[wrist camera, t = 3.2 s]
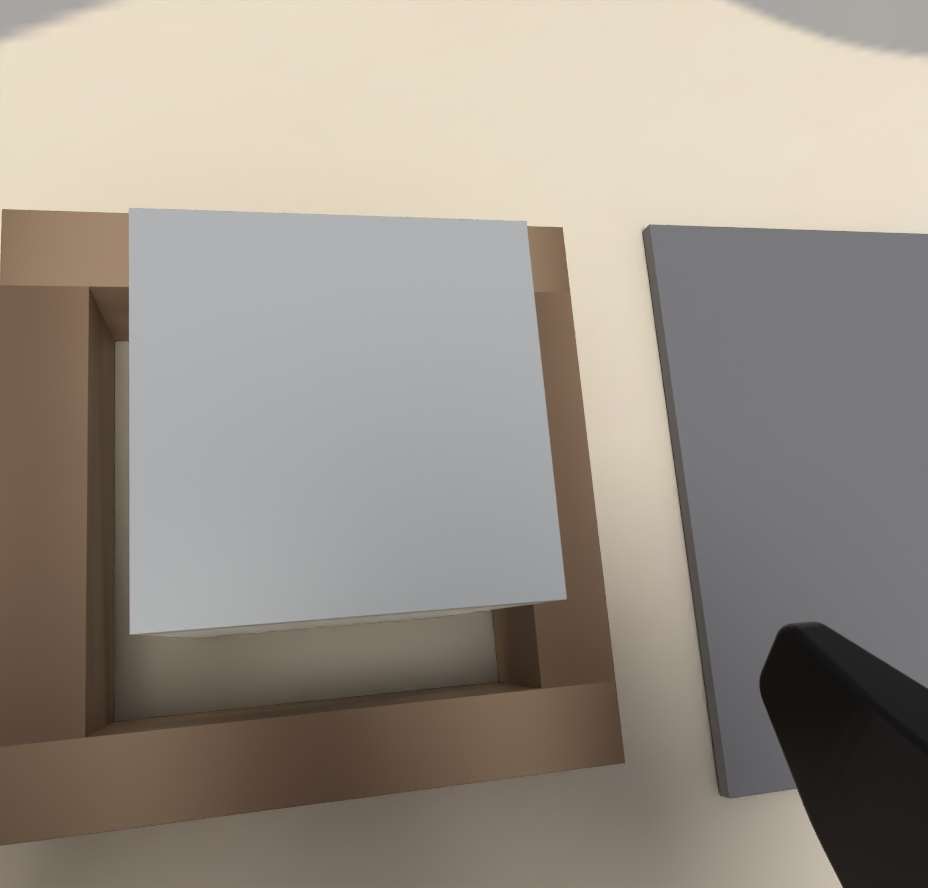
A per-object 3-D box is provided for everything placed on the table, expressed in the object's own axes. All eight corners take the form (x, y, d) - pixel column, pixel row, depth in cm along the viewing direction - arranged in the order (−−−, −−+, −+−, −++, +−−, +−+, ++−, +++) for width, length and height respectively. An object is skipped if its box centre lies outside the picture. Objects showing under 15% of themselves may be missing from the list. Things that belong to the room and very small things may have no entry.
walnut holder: (521, 283, 21) (562, 227, 18) (569, 744, 19) (625, 762, 16) (41, 275, 19) (1, 209, 16) (30, 812, 16) (-19, 847, 13)
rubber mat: (1066, 245, 26) (1078, 239, 25) (1186, 726, 23) (1202, 728, 22) (642, 231, 22) (649, 224, 22) (720, 795, 19) (729, 798, 19)
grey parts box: (411, 401, 20) (526, 221, 11) (427, 618, 19) (566, 599, 10) (188, 406, 19) (128, 208, 10) (191, 638, 18) (129, 634, 9)
